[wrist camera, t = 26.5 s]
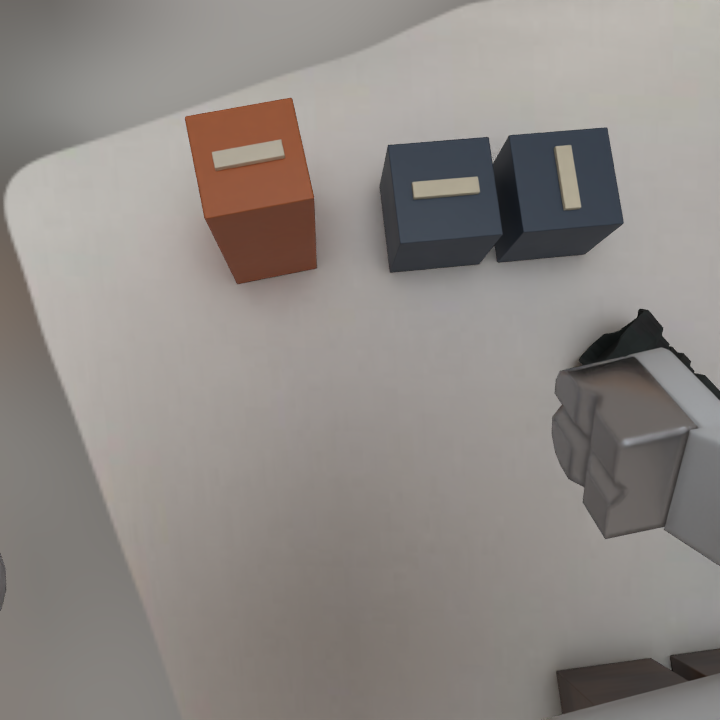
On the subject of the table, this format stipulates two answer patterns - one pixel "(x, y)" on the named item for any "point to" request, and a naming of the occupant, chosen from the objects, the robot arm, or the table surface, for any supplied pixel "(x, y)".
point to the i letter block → (255, 188)
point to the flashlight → (637, 345)
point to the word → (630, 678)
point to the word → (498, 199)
